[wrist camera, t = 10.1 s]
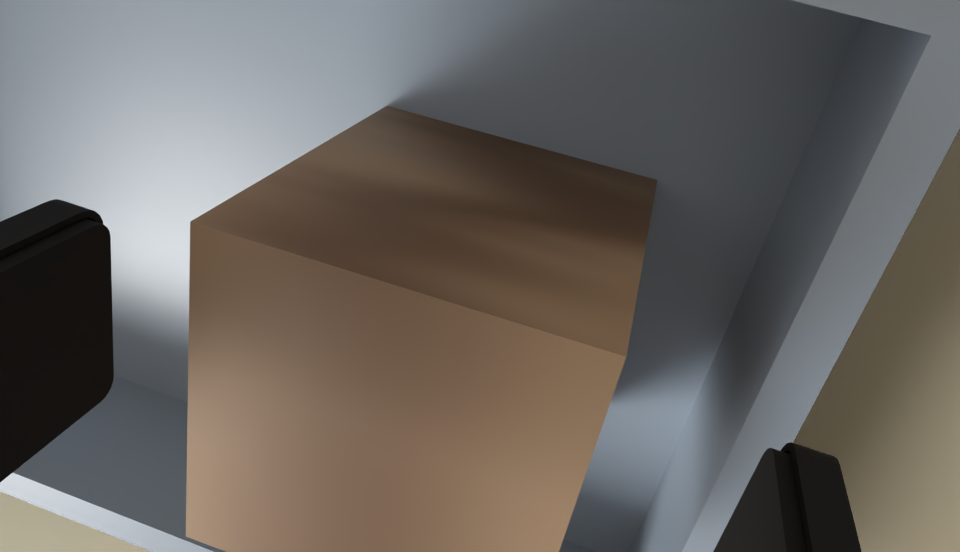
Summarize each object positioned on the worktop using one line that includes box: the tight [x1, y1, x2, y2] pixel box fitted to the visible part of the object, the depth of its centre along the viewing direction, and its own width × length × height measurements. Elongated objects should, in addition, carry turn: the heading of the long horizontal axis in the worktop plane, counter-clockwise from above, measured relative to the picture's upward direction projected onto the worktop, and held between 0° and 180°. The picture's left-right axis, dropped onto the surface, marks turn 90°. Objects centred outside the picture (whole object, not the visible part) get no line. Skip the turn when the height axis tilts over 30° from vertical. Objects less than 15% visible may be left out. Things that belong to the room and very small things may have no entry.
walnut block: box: [186, 106, 657, 552], centre depth 12 cm, size 5×5×6 cm
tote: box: [0, 0, 960, 552], centre depth 14 cm, size 19×13×4 cm
